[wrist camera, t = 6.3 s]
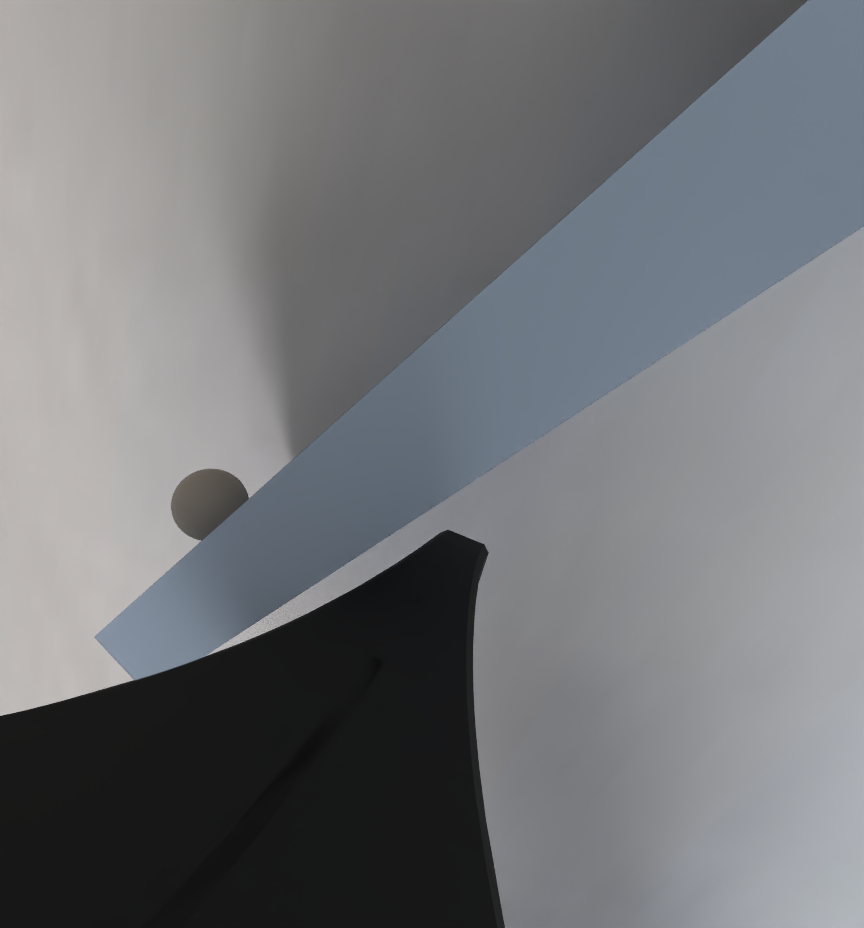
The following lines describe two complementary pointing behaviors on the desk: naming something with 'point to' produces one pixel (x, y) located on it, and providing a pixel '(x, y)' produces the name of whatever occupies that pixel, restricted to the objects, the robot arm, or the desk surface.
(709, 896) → the desk surface
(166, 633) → the rectangular plank
